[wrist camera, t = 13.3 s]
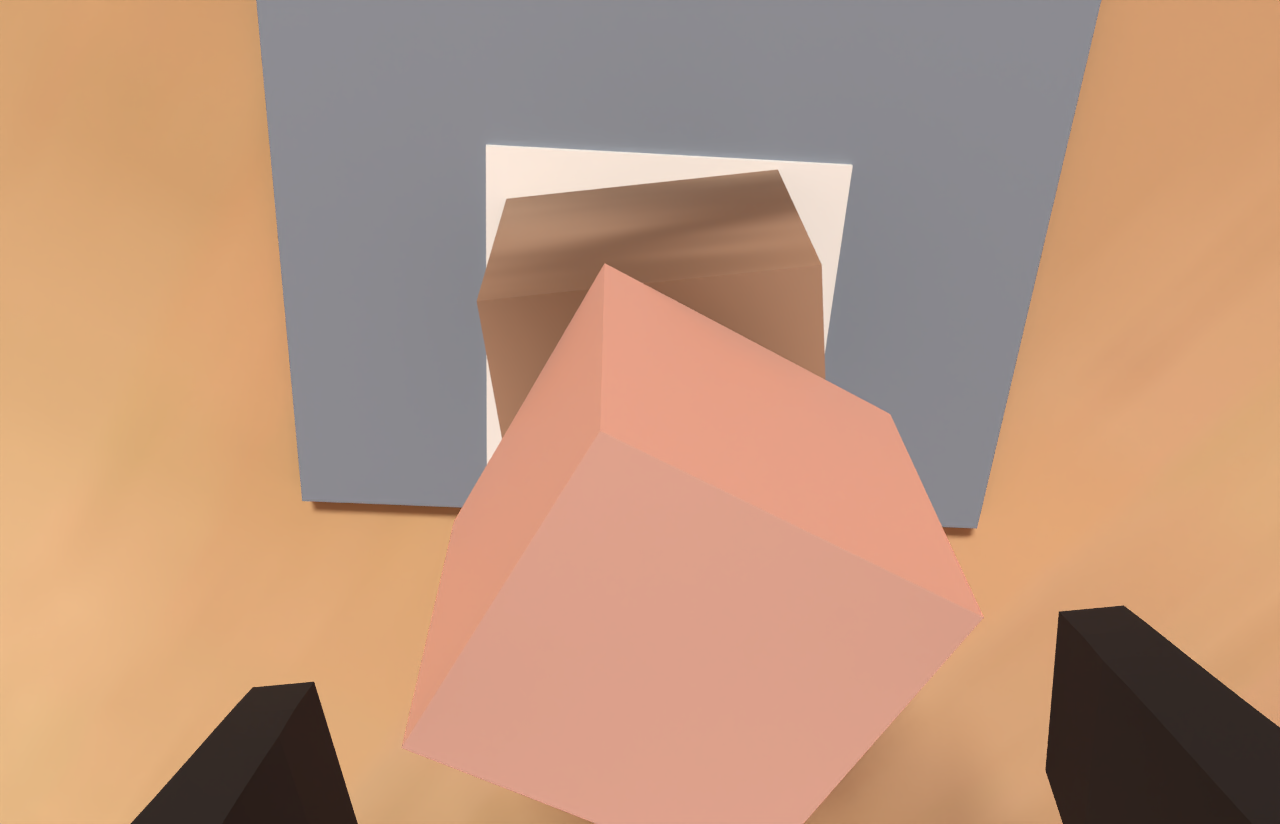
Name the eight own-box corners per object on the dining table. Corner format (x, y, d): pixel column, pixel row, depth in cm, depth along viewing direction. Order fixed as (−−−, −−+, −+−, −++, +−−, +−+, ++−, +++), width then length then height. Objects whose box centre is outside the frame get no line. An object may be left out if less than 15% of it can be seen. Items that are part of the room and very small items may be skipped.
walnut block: (778, 169, 19) (822, 264, 15) (789, 410, 21) (831, 551, 17) (506, 198, 19) (476, 301, 15) (544, 435, 21) (528, 580, 17)
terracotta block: (889, 414, 16) (984, 617, 12) (719, 640, 17) (750, 883, 13) (604, 263, 15) (600, 430, 11) (454, 520, 16) (401, 747, 12)
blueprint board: (1095, -18, 18) (1107, -15, 17) (971, 517, 22) (978, 531, 22) (257, -72, 17) (248, -69, 17) (307, 489, 22) (300, 504, 21)
